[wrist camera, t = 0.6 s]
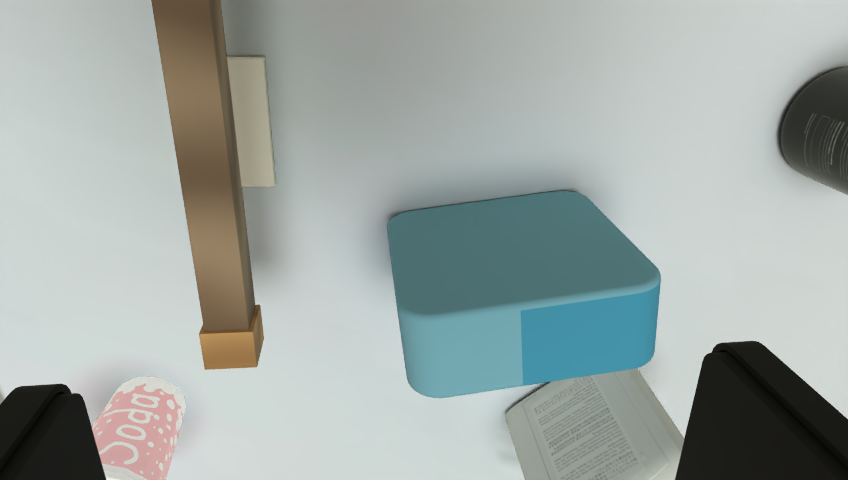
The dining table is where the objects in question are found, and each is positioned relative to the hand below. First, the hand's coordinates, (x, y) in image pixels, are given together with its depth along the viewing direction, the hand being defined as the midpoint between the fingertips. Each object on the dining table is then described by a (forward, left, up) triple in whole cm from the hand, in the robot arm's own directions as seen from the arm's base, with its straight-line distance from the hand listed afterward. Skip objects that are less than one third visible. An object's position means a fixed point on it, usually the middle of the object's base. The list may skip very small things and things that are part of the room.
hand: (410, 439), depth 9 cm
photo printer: (+21, +14, -26) cm, 37 cm away
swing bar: (0, -7, -19) cm, 20 cm away
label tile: (+1, -8, -26) cm, 27 cm away
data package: (+8, +7, -26) cm, 28 cm away
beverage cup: (+20, -15, -26) cm, 36 cm away
